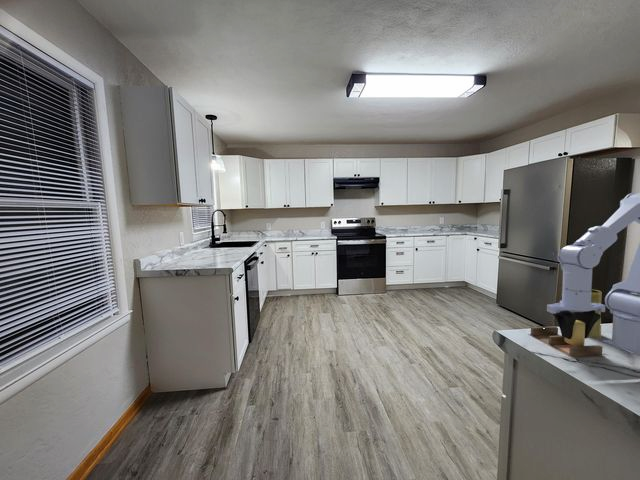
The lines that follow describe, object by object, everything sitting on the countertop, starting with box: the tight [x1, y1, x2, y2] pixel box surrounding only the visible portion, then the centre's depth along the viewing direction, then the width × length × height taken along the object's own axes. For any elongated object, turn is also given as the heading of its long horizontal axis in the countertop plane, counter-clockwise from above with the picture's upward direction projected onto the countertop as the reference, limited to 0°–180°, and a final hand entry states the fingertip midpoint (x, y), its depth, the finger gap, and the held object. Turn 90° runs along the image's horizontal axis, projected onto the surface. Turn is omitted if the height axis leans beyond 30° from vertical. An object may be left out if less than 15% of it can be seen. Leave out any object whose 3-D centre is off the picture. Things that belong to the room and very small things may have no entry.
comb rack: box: [527, 325, 606, 359], centre depth 77 cm, size 9×15×3 cm, turn 1°
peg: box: [564, 320, 586, 346], centre depth 73 cm, size 4×4×6 cm
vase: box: [588, 288, 603, 339], centre depth 83 cm, size 6×6×14 cm
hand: (574, 337), depth 73 cm, fingers closed on peg, 4 cm apart
